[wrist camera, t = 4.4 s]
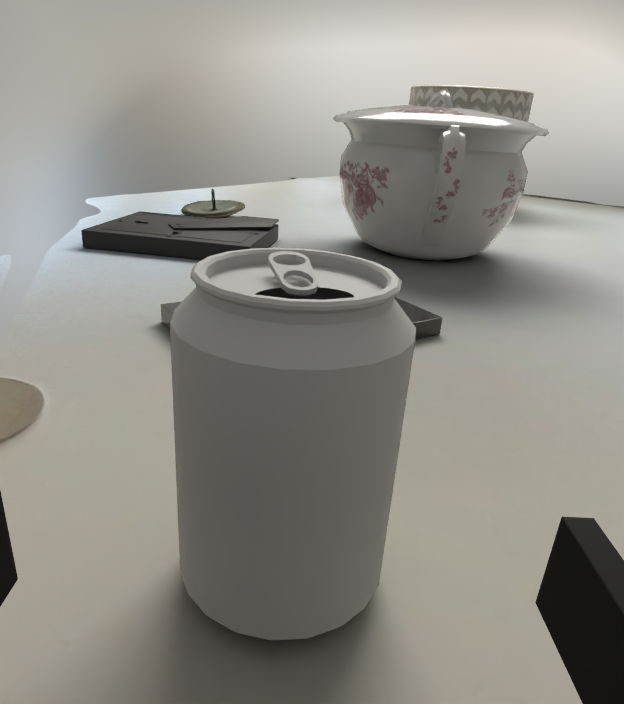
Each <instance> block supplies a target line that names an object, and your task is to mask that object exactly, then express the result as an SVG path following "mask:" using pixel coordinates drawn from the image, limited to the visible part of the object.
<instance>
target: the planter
mask: <svg viewBox="0 0 624 704" xmlns="http://www.w3.org/2000/svg"><path fill="white" fill-rule="evenodd" d="M443 89H444V90H445V91H448V92H449V95H450V98H451V101H452V104H453V108H461V109H472V110H479V111H484V112H488V113H493V114H497V115H502V116H507V117H511V118H516V119H519V120H522V121H526V122H528V119H529V115H530V110H531V105H532V100H533V93H531V92H527V91H521V90H513V89H503V88H492V87H476V86H454V85H453V86H452V85H421V86H413V87H411V93H410V102H409V106H427V105H428V103H429V102H430V100H431V99H432V97H433V96H434V95H435V94H436V93H437V92H439V91H441V90H443ZM435 107H445V105H444V103H443V101H442V100H441V101H440V102H439V103H438V104H437V105H436V106H435Z"/></svg>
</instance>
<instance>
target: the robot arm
mask: <svg viewBox="0 0 624 704" xmlns="http://www.w3.org/2000/svg"><path fill="white" fill-rule="evenodd" d="M17 579H18V578H17V573H16V568H15V562H14V557H13V552H12V547H11V542H10V537H9V532H8V527H7V522H6V517H5V512H4V507H3V502H2V497H1V492H0V606H1V605H2V603H3V601H4V600H5V598H6V597H7V595H8V594H9V592H10V590H11V589H12V587H13V586H14V584H15V583H16V581H17ZM536 605H537V607H538V609H539V611H540V613H541V615H542V617H543V619H544V622H545V624H546V626H547V628H548V630H549V632H550V634H551V637H552V639H553V641H554V643H555V645H556V647H557V649H558V652H559V654H560V656H561V658H562V660H563V662H564V664H565V667H566V669H567V671H568V673H569V675H570V677H571V679H572V682H573V684H574V686H575V688H576V690H577V692H578V694H579V697H580V699H581V701H582V703H583V704H624V560H623V559H622V557H621V556H620V555H619V553H618V552H617V550H616V549H615V548H614V546H613V545H612V543H611V542H610V541H609V539H608V538H607V536H606V535H605V534H604V532H603V531H602V529H601V528H600V527H599V525H598V524H597V522H596V521H595V520H594V518H576V517H562V518H561V521H560V524H559V528H558V531H557V534H556V537H555V541H554V544H553V547H552V551H551V554H550V557H549V560H548V564H547V567H546V570H545V573H544V577H543V580H542V583H541V586H540V590H539V593H538V596H537V600H536Z"/></svg>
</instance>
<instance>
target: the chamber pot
mask: <svg viewBox="0 0 624 704" xmlns="http://www.w3.org/2000/svg"><path fill="white" fill-rule="evenodd" d="M441 100H442V101H443V103H444V105H445V107H435V106H436V105H437V104H438V103H439V102H440V101H441ZM333 119H334V120H335V121H337V122H344V124H345V125H346V127H347V128H348V129H349V131H350V135H351V138H352V140H351V141H350V143H349V144H348V146H347V148H346V149H345V151H344V153H343V154H342V156H341V165H340V183H341V192H342V201H343V205H344V207H345V209H346V212H347V214H348V216H349V218H350V220H351V222H352V224H353V227H354V229H355V231H356V232H357V234H358V235H359V236H360V238H361V239H362V240H363V242H365V243H367V244H369V245H371V246H373V247H375V248H377V249H379V250H381V251H383V252H385V253H389V254H392V255H396V256H401V257H406V258H413V259H422V260H454V259H460V258H464V257H468V256H472V255H476V254H478V253H480V252H482V251H483V250H484V249H486V248H487V247H488V246H489V245H490V244H491V243H492V242H493V241H494V240H495V239H496V237H497V236H498V235H499V234H500V233H501V232H502V231H503V229H504V228H505V227H506V226H507V225H508V224H509V223H510V221H511V220H512V218H513V215H514V213H515V211H516V208H517V206H518V204H519V201H520V199H521V197H522V194H523V191H524V187H525V182H526V177H527V173H528V171H527V168H526V165H525V162H524V159H523V155H522V150H523V149H524V147H525V146H526V144H527V143H528V142H529V141H530V140H531V139H533V138H534V137H535V136H546V135H547V134H548V133H549V132H548V131H547V130H546V129H543V128H540V127H537V126H535V125H534V124H532V123H529V122H526V121H522V120H519V119H516V118H511V117H507V116H502V115H497V114H493V113H488V112H484V111H479V110H472V109H461V108H453V104H452V101H451V98H450V95H449V92H448V91H445V90H444V89H443V90H441V91H439V92H437V93H436V94H435V95H434V96H433V97H432V99H431V100H430V102H429V103H428V105H427V106H408V105H404V106H392V107H381V108H369V109H362V110H356V111H350V112H347V113H346V114H341V115H336V116H335V117H334V118H333Z"/></svg>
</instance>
